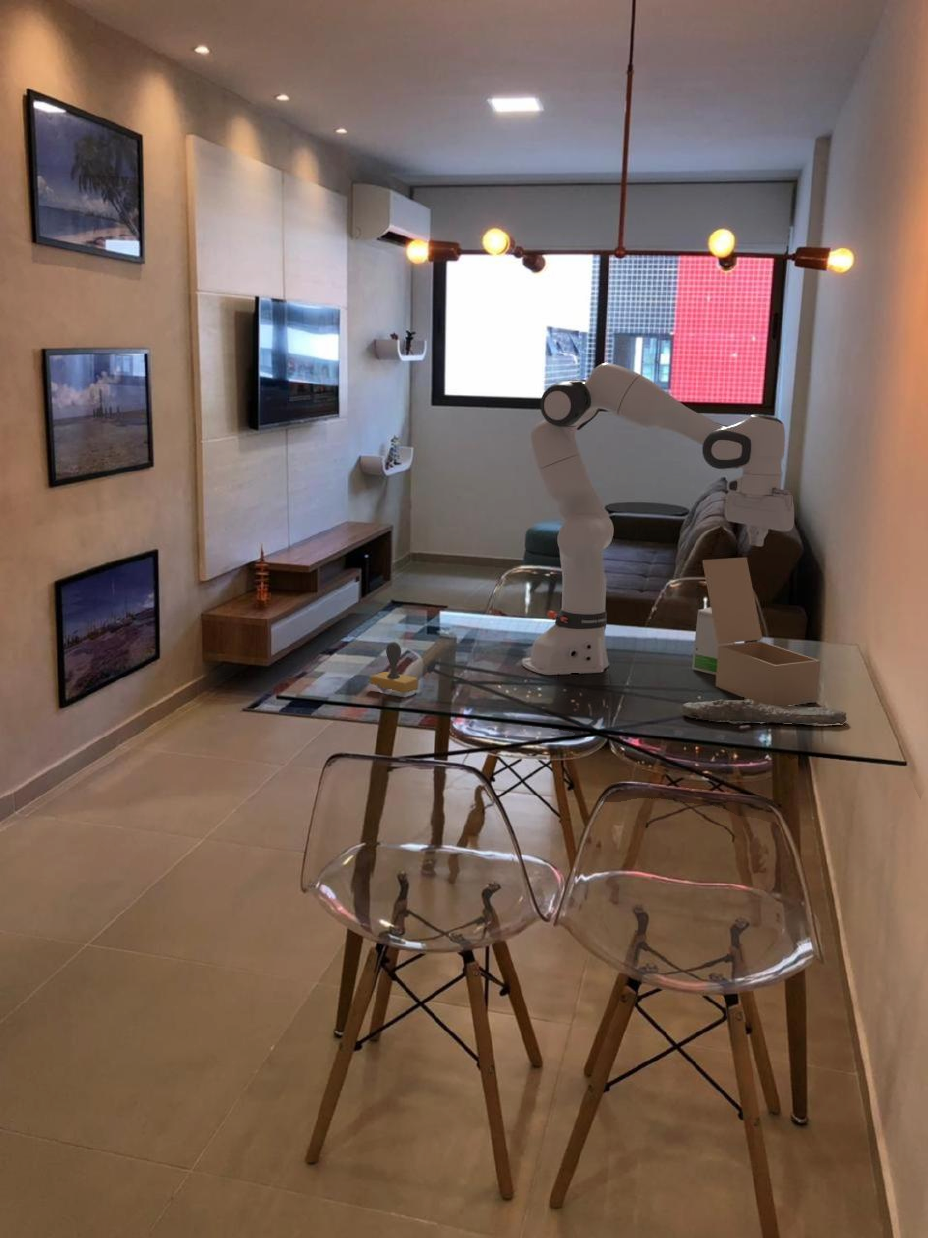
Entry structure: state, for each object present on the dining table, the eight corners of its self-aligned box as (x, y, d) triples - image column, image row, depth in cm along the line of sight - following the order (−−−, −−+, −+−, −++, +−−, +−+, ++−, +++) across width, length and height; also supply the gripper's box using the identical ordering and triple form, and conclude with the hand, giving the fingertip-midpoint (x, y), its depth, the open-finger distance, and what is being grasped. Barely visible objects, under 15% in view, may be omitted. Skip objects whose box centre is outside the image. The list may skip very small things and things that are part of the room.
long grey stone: (851, 738, 225) (838, 725, 235) (854, 713, 225) (841, 702, 234) (684, 722, 227) (678, 711, 237) (687, 698, 227) (681, 688, 236)
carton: (771, 709, 239) (775, 665, 237) (715, 686, 257) (718, 645, 255) (816, 702, 245) (820, 660, 242) (758, 680, 262) (761, 641, 260)
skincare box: (691, 670, 271) (695, 610, 268) (705, 665, 276) (708, 606, 273) (720, 676, 266) (725, 615, 262) (734, 671, 271) (738, 611, 267)
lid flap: (703, 560, 257) (702, 560, 258) (719, 643, 254) (717, 644, 255) (746, 557, 263) (745, 557, 263) (762, 639, 260) (760, 639, 260)
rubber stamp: (369, 691, 248) (369, 641, 245) (384, 686, 252) (384, 636, 250) (403, 699, 242) (403, 647, 240) (418, 693, 247) (418, 642, 245)
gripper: (803, 490, 239) (797, 551, 242) (743, 481, 257) (738, 538, 260) (781, 490, 236) (776, 552, 239) (722, 482, 254) (717, 539, 257)
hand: (756, 545), depth 250 cm, fingers closed
